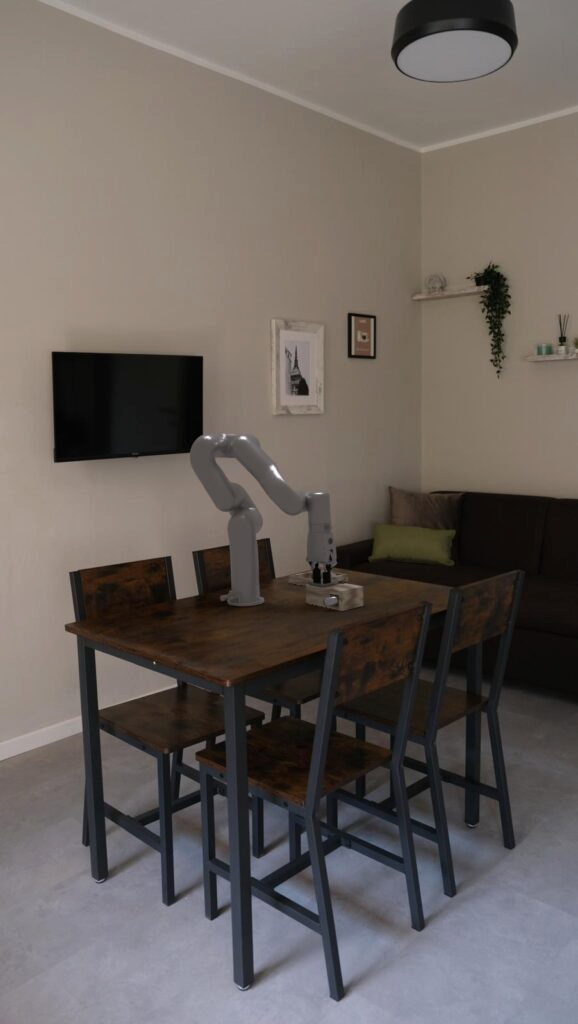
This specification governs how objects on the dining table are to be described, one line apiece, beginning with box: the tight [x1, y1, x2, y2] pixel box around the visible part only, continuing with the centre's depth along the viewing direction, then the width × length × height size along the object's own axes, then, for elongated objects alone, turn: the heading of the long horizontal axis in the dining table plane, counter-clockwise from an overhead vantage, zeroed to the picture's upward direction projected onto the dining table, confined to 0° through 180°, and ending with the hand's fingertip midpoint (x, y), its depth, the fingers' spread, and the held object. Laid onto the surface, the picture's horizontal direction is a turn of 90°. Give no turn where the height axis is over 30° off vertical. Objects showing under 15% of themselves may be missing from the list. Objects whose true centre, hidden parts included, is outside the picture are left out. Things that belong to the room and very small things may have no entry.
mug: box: [311, 563, 336, 579], centre depth 317 cm, size 8×10×10 cm
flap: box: [308, 579, 341, 587], centre depth 280 cm, size 9×7×1 cm
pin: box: [323, 595, 339, 608], centre depth 274 cm, size 15×4×4 cm, turn 132°
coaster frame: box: [287, 570, 349, 587], centre depth 316 cm, size 16×15×3 cm
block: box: [305, 580, 364, 612], centre depth 278 cm, size 10×17×8 cm, turn 42°
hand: (322, 581), depth 279 cm, fingers closed on flap, 4 cm apart
